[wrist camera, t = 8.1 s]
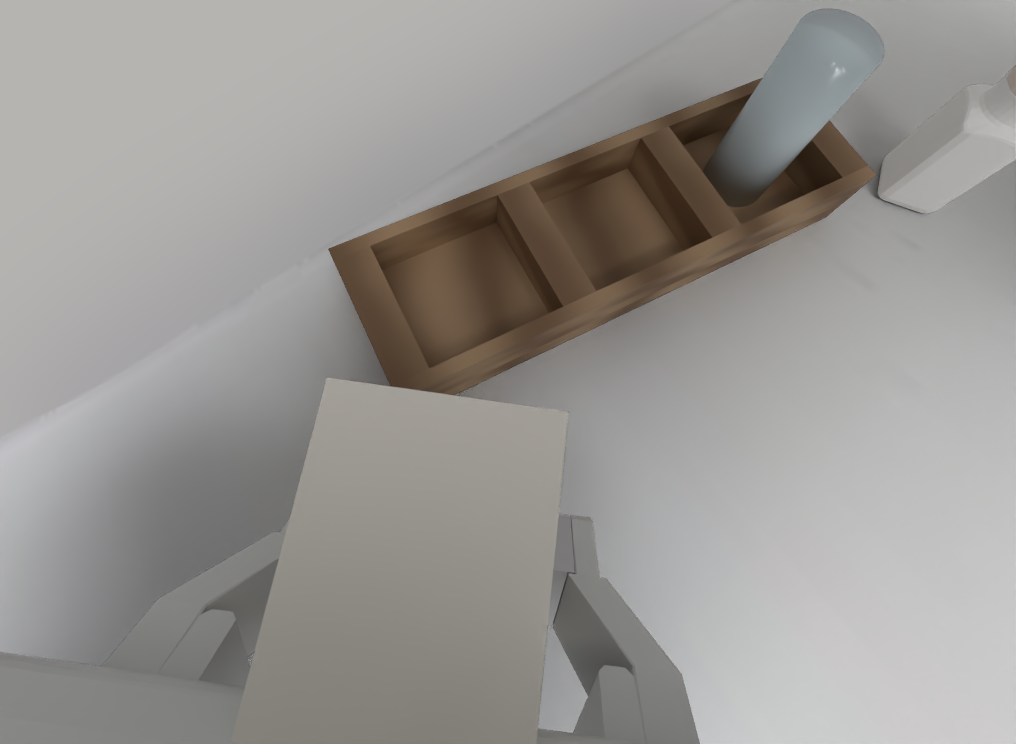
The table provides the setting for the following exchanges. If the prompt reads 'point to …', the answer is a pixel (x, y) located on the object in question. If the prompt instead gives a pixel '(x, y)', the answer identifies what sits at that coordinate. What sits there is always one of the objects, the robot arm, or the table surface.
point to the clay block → (411, 575)
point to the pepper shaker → (953, 148)
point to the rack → (573, 245)
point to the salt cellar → (793, 102)
